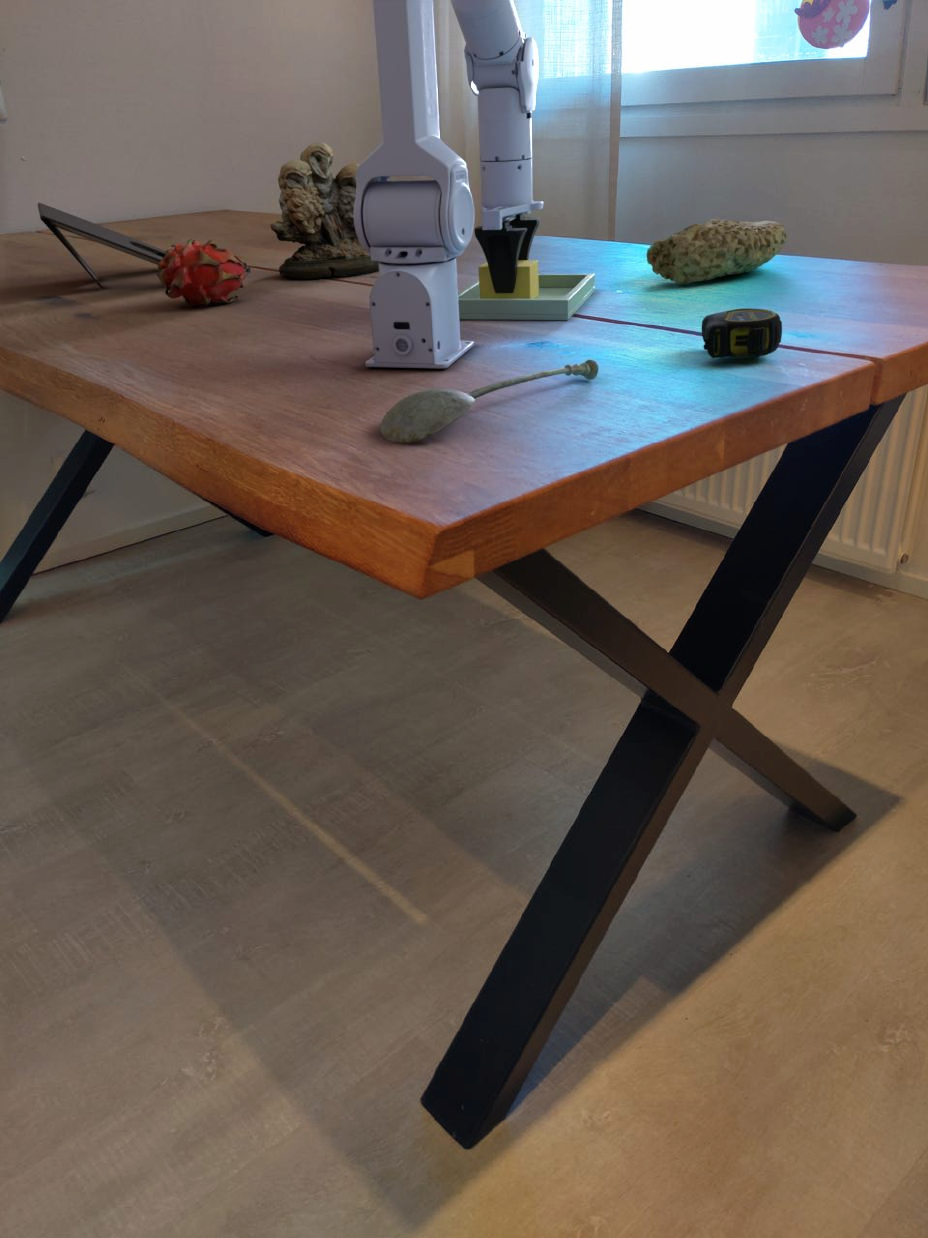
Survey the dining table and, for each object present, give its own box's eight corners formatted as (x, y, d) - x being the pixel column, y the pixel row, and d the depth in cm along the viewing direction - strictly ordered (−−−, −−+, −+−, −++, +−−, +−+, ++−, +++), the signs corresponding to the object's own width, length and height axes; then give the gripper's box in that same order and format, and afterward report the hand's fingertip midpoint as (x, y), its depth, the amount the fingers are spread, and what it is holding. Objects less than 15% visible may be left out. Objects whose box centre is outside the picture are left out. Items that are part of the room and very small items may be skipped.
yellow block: (530, 303, 114) (529, 266, 112) (479, 302, 116) (478, 266, 114) (538, 295, 118) (538, 259, 116) (489, 295, 120) (488, 260, 118)
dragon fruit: (156, 322, 126) (249, 323, 132) (168, 288, 119) (266, 290, 124) (145, 260, 128) (238, 264, 133) (156, 222, 120) (253, 227, 126)
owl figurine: (296, 284, 137) (279, 146, 130) (260, 275, 146) (242, 146, 138) (408, 267, 146) (398, 137, 138) (367, 259, 155) (356, 136, 147)
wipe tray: (568, 320, 108) (568, 299, 107) (447, 319, 112) (446, 299, 111) (594, 291, 122) (594, 273, 121) (486, 291, 126) (485, 273, 125)
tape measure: (699, 348, 94) (701, 307, 92) (775, 347, 93) (779, 305, 91) (701, 366, 88) (704, 322, 86) (783, 365, 87) (787, 321, 85)
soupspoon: (363, 440, 76) (417, 463, 72) (358, 397, 74) (414, 417, 70) (565, 370, 88) (622, 386, 84) (565, 332, 86) (624, 346, 82)
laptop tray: (198, 328, 143) (218, 265, 141) (27, 268, 132) (44, 198, 130) (177, 303, 162) (194, 247, 160) (26, 249, 151) (41, 187, 149)
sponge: (693, 301, 120) (827, 247, 124) (678, 234, 117) (815, 181, 121) (637, 305, 131) (761, 255, 136) (622, 244, 129) (749, 196, 133)
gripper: (526, 163, 103) (529, 300, 109) (555, 153, 115) (556, 277, 121) (460, 165, 105) (466, 300, 111) (495, 155, 117) (499, 277, 123)
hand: (509, 288), depth 116 cm, fingers closed on yellow block, 4 cm apart
